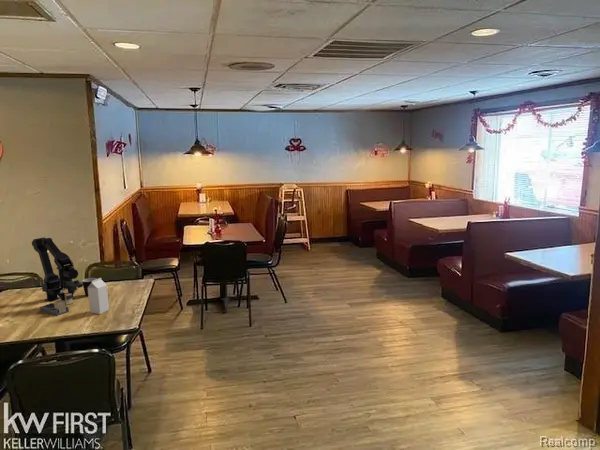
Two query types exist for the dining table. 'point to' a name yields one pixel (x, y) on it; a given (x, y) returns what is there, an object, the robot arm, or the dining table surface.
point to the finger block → (68, 298)
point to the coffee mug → (87, 285)
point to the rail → (51, 311)
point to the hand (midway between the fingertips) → (67, 301)
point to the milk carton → (98, 296)
